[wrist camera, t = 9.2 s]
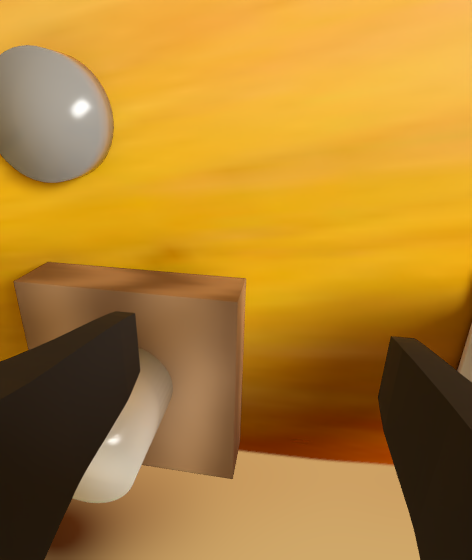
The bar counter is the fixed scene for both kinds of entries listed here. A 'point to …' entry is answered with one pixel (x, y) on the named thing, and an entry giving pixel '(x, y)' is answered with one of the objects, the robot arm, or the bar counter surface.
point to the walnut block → (160, 347)
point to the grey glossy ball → (52, 115)
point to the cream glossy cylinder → (128, 435)
